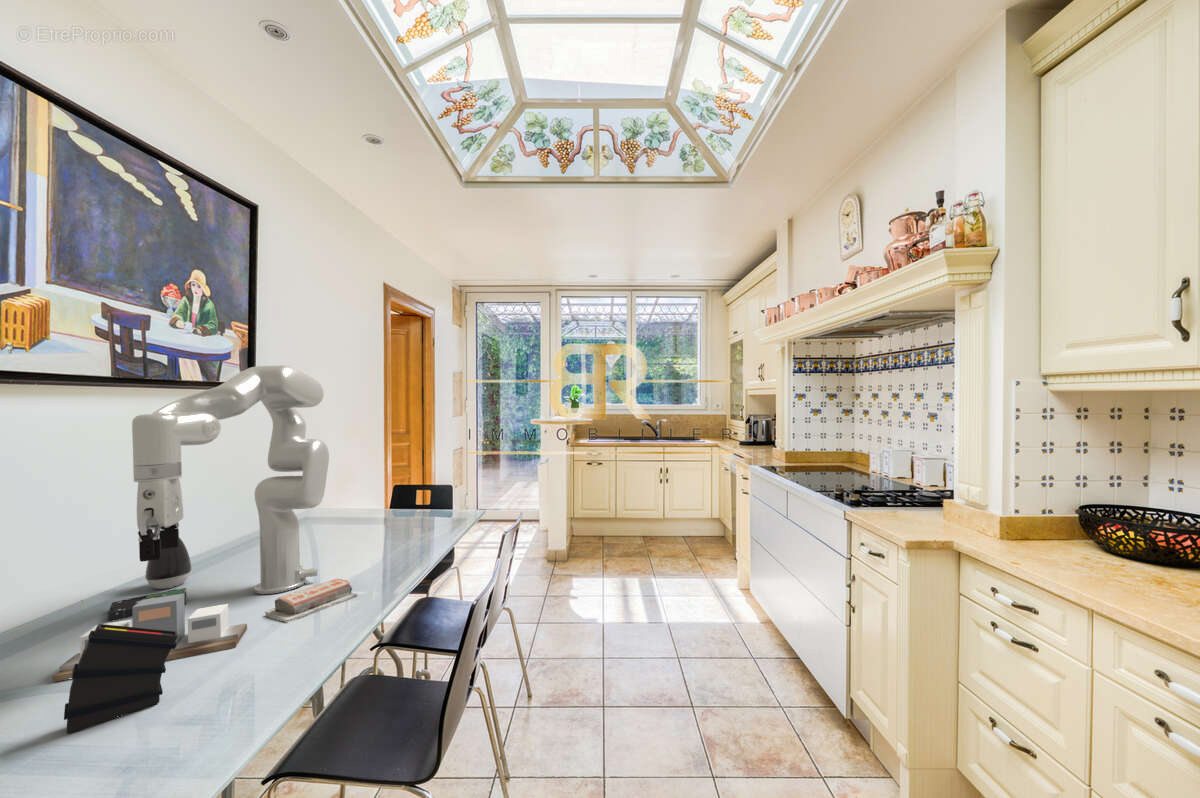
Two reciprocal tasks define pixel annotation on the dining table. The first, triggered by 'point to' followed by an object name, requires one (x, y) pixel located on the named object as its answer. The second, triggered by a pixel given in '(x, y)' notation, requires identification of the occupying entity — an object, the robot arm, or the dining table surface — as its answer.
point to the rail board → (176, 649)
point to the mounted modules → (200, 625)
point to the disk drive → (125, 606)
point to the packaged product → (311, 600)
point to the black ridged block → (117, 674)
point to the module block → (161, 614)
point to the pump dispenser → (169, 567)
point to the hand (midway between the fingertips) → (160, 553)
